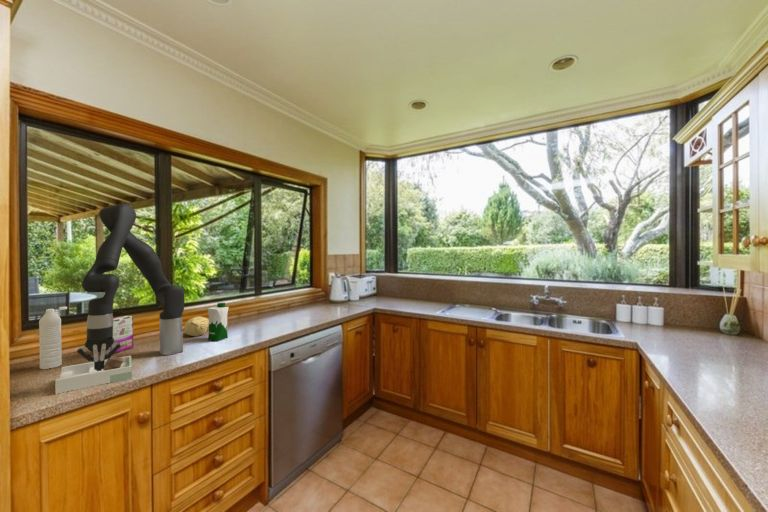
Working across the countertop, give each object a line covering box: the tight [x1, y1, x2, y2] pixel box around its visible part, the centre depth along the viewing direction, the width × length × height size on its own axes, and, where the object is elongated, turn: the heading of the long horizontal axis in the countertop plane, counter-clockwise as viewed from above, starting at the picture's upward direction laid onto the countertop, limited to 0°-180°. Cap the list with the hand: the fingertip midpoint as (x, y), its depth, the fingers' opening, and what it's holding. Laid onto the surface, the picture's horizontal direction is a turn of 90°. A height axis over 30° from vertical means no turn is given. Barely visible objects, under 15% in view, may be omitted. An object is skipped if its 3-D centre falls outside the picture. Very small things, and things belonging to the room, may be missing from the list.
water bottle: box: [38, 306, 68, 370], centre depth 134 cm, size 9×6×25 cm
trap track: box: [54, 355, 133, 395], centre depth 122 cm, size 21×15×5 cm
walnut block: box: [103, 355, 124, 371], centre depth 123 cm, size 4×4×4 cm
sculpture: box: [183, 315, 209, 337], centre depth 183 cm, size 12×12×11 cm
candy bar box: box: [105, 315, 134, 355], centre depth 154 cm, size 11×5×16 cm, turn 168°
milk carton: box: [206, 302, 230, 342], centre depth 176 cm, size 9×9×20 cm
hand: (99, 370), depth 120 cm, fingers closed
